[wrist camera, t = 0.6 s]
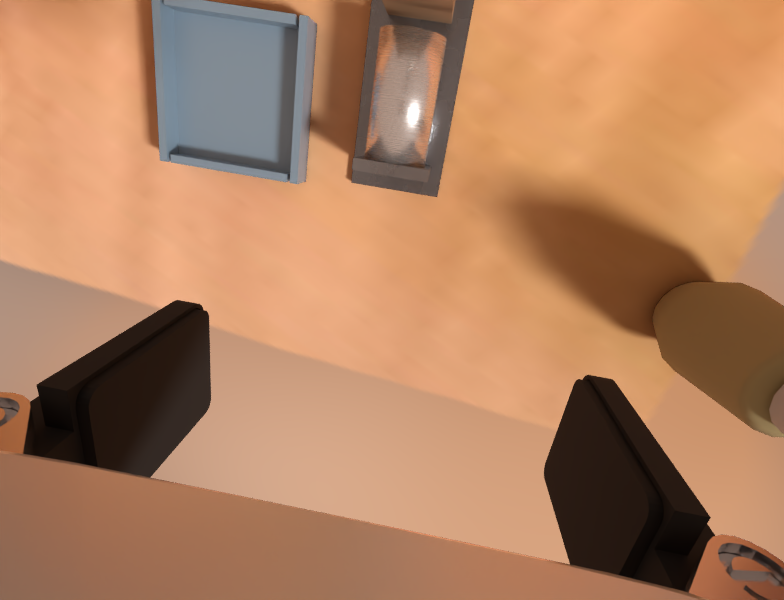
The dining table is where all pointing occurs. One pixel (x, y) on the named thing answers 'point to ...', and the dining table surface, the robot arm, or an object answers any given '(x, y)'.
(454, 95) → the rail
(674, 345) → the squeeze bottle
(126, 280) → the dining table surface
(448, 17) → the block
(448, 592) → the robot arm
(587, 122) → the dining table surface
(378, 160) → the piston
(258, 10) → the tray
